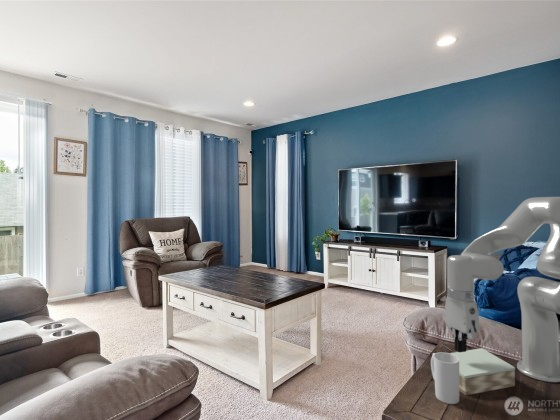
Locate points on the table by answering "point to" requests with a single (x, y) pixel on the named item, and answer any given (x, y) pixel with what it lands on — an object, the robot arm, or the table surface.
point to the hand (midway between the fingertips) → (460, 350)
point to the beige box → (486, 382)
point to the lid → (480, 363)
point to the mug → (446, 377)
